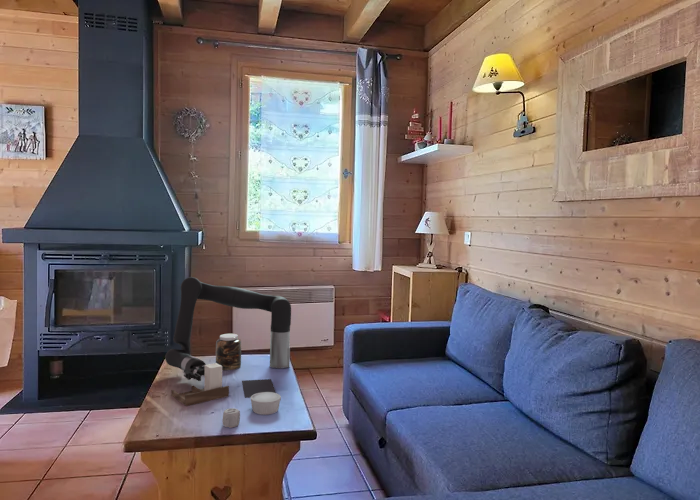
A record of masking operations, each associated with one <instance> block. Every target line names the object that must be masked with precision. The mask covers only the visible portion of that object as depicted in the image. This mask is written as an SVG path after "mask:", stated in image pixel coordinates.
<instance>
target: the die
mask: <svg viewBox="0 0 700 500" xmlns="http://www.w3.org/2000/svg"><path fill="white" fill-rule="evenodd" d="M221 421H222V426H223V427H225V428H227V427H229V429H230V428H231V429H232V428H236V427H238V426H239V425H240V421H241V412H240V410H239V409H238V408H233V407H232V408H227V409H226V408H225V410H223V414H222V420H221Z"/></svg>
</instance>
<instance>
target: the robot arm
mask: <svg viewBox="0 0 700 500" xmlns="http://www.w3.org/2000/svg"><path fill="white" fill-rule="evenodd" d="M180 292H181V293H180V294H181V295H180V305H179V311H178V316H177V320H176V323H175V328H174V329H175V330H174V334H173V340H172V341H173V343H175V344H178V345H179V346H180V347H181V349H177V348H171V349H168V350H167V352H166V353H165V356H164V359H165V362H166V364H167V365H168V366H170V367H171V366H172V368H173V367H174V368H178V369H180V370H182V372H183V377H184V378H185V379H187V380H188V381H189V380H190V381H191V379H192V380H196V381H198V382H201V381H202V377H203V376H204V377H205V365H207V364H206V362H205V361H204V360H201V358H199V357H196V356H193V355H191V348H190V347H191V346H190V345H191V344H190V341H191V335H192V329H193V322H194V321H193V319H194V313H195V312H194V311H195V308H196V303H197V300H204V301H210V302H214V303H217V304H220V305H224V306H227V307H232V308H237V309H242V310H243V309H244V310H247V309H248V310H262V311H266V312H270V314H271V319H270V340H269V341H270V345H269V346H270V347H269V349H270V351H269V367H270V368H273V369H286V368H290V365H291V364H290V362H291V359H290V357H291V347H290V346H291V345H290V343H291V342H290V341H291V325H292V321H291V320H292V305H291V303H290V301H289V300H288V299H287V298H286V297H284V296H281V295H269V294H262V293H259V292H257V291H256V292H255V291H252V290H249V289H245V288H241V287H236V286H228V285H214V284H213V285H212V284H210V283H209V284H208V283H205V282H202V281H200V280H199V279H198V278H197V277H192V276H189V277H187V278H185V279H184V280H183V281H182V282H181V284H180Z"/></svg>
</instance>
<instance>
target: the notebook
mask: <svg viewBox="0 0 700 500" xmlns="http://www.w3.org/2000/svg"><path fill="white" fill-rule="evenodd" d="M241 384H242V385H241V386H242V389H243V396H244V398H245V399H248V398H249V399H251V396H252V395H254V394H256V393H261V392H273V393H277V391H276V389H275V385H274V383H273V380H272V378H265V379H248V380H241Z"/></svg>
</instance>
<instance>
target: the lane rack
mask: <svg viewBox="0 0 700 500" xmlns="http://www.w3.org/2000/svg"><path fill="white" fill-rule="evenodd" d="M170 394H171V395H170V396H171V397H173V398H175V399H176V400H177V401H178V402H180V403H181V404H182V405H184V406H186V407H188V406H191V405H197V404H202V403H205V402H209V401H214V400H218V399H223V398H228V397H230V386H229V385H226V386H222V387H220V388H215V389H210V390H206V391H204V388H198V387H196V386H195V385H192V386H191V390H190V391H186V392H180V393H179V392H177V391H176V390H174V389H171V393H170Z"/></svg>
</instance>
